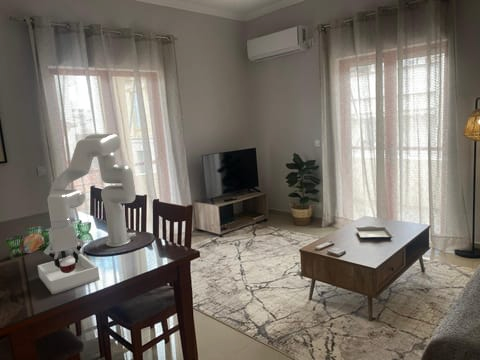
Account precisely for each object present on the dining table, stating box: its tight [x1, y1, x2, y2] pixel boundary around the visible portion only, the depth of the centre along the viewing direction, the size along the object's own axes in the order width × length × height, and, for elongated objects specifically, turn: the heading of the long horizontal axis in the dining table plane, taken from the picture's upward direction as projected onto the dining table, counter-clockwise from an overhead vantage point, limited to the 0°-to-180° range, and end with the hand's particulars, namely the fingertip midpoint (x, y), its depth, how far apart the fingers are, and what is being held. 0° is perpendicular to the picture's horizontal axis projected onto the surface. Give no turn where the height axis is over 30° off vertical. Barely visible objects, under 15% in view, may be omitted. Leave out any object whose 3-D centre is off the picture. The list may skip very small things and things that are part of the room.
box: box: [37, 253, 100, 295], centre depth 151 cm, size 18×22×6 cm
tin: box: [19, 232, 46, 254], centre depth 189 cm, size 15×3×8 cm, turn 168°
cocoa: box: [60, 250, 76, 273], centre depth 150 cm, size 10×6×12 cm, turn 26°
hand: (67, 264), depth 151 cm, fingers closed on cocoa, 6 cm apart
